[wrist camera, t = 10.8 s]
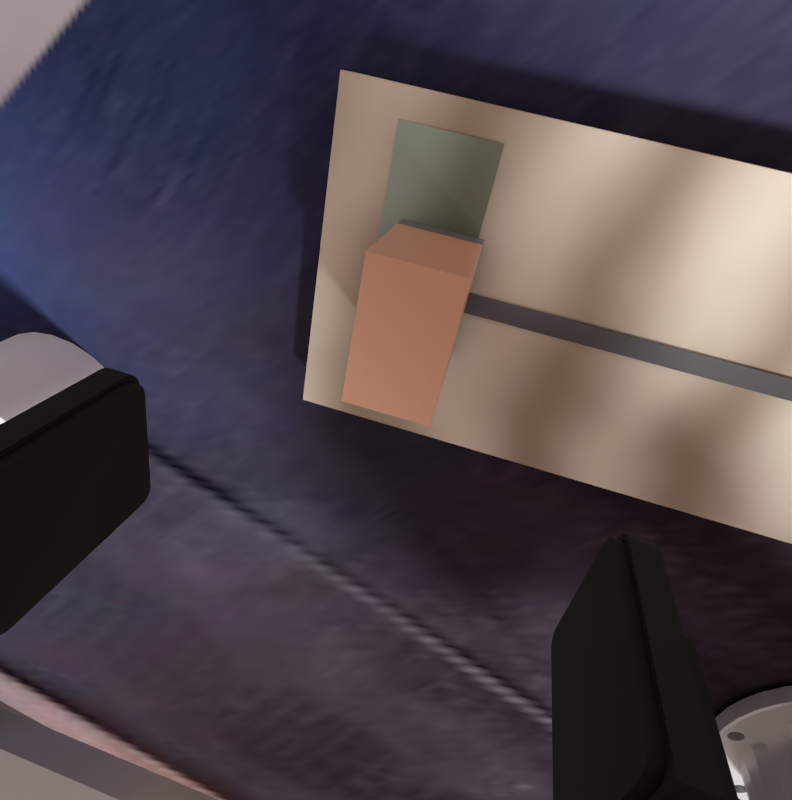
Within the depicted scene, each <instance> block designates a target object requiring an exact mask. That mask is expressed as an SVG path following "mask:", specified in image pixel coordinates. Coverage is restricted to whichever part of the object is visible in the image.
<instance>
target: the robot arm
mask: <svg viewBox="0 0 792 800" xmlns="http://www.w3.org/2000/svg"><path fill="white" fill-rule="evenodd" d="M149 491H150V471H149V455H148V439H147V423H146V407H145V392H144V389H143V387H142V386H140V385H139V381H138V379H137V378H136V377H134V376H133V375H130V374H126V373H123V372H120V371H117V370H114V369H111V368H103V369H100V370H98V371H97V372H95V373H93V374H91V375H89V376H87V377H86V378H84V379H82V380H80V381H78V382H77V383H75V384H73V385H71V386H69V387H67V388H66V389H64V390H62V391H60V392H58V393H57V394H55V395H53V396H51V397H49V398H48V399H46V400H44V401H42V402H40V403H38V404H37V405H35V406H33V407H31V408H29V409H28V410H26V411H24V412H22V413H20V414H18V415H17V416H15V417H13V418H11V419H9V420H8V421H6V422H4V423H2V424H0V635H1V634H3V633H5V632H6V631H8V630H9V629H10V628H11V627H12V626H14V625H15V624H16V623H17V622H18V621H19V620H20V619H21V618H22V617H23V616H24V615H25V614H26V613H27V612H28V611H29V610H30V609H32V608H33V607H34V606H35V605H36V604H37V603H38V602H39V601H40V600H41V599H42V598H43V597H44V596H45V595H46V594H47V593H48V592H50V591H51V590H52V589H53V588H54V587H55V586H56V585H57V584H58V583H59V582H60V581H61V580H62V579H63V578H64V577H65V576H67V575H68V574H69V573H70V572H71V571H72V570H73V569H74V568H75V567H76V566H77V565H78V564H79V563H80V562H81V561H82V560H83V559H85V558H86V557H87V556H88V555H89V554H90V553H91V552H92V551H93V550H94V549H95V548H96V547H97V546H98V545H99V544H100V543H102V542H103V541H104V540H105V539H106V538H107V537H108V536H109V535H110V534H111V533H112V532H113V531H114V530H115V529H116V528H117V527H118V526H120V525H121V524H122V523H123V522H124V521H125V520H126V519H127V518H128V517H129V516H130V515H131V514H132V513H133V512H134V511H135V510H136V509H138V508H139V507H140V506H141V505H142V504H143V503H144V501H145V500H146V498H147V497H148V494H149ZM551 660H552V738H553V800H739V799H741V800H792V686H784V687H780V688H775V689H771V690H767V691H762V692H760V693H757V694H754V695H752V696H749V697H746V698H743V699H741V700H740V701H738V702H736V703H734V704H732V705H731V706H729V707H727V708H726V709H725V710H724V711H723V712H721V713H720V714H719V715H718V716H717V717H716V718H715V716H714V712H713V709H712V705H711V702H710V698H709V695H708V691H707V688H706V684H705V681H704V677H703V674H702V670H701V667H700V663H699V660H698V657H697V653H696V650H695V647H694V645H693V642H692V640H691V639H690V637H689V636H688V635H687V634H686V633H683V632H682V630H681V626H680V622H679V619H678V615H677V611H676V608H675V604H674V600H673V597H672V593H671V589H670V586H669V582H668V578H667V574H666V571H665V567H664V563H663V560H662V556H661V552H660V549H659V547H658V546H657V545H656V544H655V543H651V542H648V541H645V540H642V539H639V538H636V537H633V536H630V535H627V534H622V535H621V536H619V537H618V539H617V540H616V539H613V538H609V539H607V541H606V542H605V543H604V545H603V547H602V549H601V550H600V552H599V554H598V556H597V557H596V559H595V561H594V563H593V564H592V566H591V568H590V570H589V571H588V573H587V575H586V577H585V578H584V580H583V582H582V584H581V585H580V587H579V589H578V591H577V592H576V594H575V596H574V598H573V599H572V601H571V603H570V605H569V606H568V608H567V610H566V611H565V613H564V615H563V617H562V618H561V620H560V622H559V624H558V625H557V627H556V629H555V632H554V635H553V639H552V647H551ZM738 798H739V799H738ZM0 800H218V799H215V798H213V797H211V796H208V795H206V794H204V793H201V792H199V791H197V790H194V789H192V788H189V787H187V786H185V785H182V784H180V783H178V782H175V781H173V780H171V779H168V778H166V777H163V776H161V775H159V774H156V773H154V772H152V771H149V770H147V769H144V768H142V767H140V766H137V765H135V764H133V763H130V762H128V761H125V760H123V759H121V758H118V757H116V756H114V755H111V754H109V753H107V752H104V751H102V750H99V749H97V748H95V747H92V746H90V745H88V744H85V743H83V742H80V741H78V740H76V739H73V738H71V737H69V736H66V735H64V734H61V733H59V732H57V731H54V730H52V729H49V728H47V727H45V726H42V725H40V724H37V723H35V722H33V721H30V720H28V719H25V718H23V717H21V716H18V715H16V714H13V713H11V712H8V711H6V710H3V709H1V708H0Z"/></svg>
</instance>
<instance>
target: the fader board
mask: <svg viewBox="0 0 792 800" xmlns="http://www.w3.org/2000/svg"><path fill="white" fill-rule="evenodd" d="M401 219H405V220H409V221H413V222H417V223H421V224H425V225H429V226H433V227H437V228H441V229H444V230H448V231H452V232H456V233H460V234H464V235H468V236H472V237H476V238H480V239H484V243H483V246H482V250H481V253H480V257H479V260H478V264H477V267H476V271H475V275H474V278H473V282H472V285H471V289H470V292H469V296H468V299H467V303H466V306H465V310H464V313H463V317H462V321H461V324H460V328H459V331H458V335H457V338H456V342H455V345H454V349H453V352H452V356H451V360H450V363H449V366H448V370H447V373H446V376H445V379H444V382H443V385H442V389H441V392H440V395H439V398H438V401H437V404H436V408H435V411H434V414H433V417H432V420H431V423H430V427H429V426H425V425H422V424H419V423H415V422H412V421H408V420H405V419H402V418H398V417H395V416H391V415H388V414H385V413H381V412H378V411H374V410H371V409H367V408H364V407H361V406H357V405H354V404H350V403H347V402H344V401H341V400H342V394H343V388H344V382H345V376H346V369H347V363H348V357H349V351H350V345H351V339H352V332H353V326H354V320H355V314H356V308H357V301H358V295H359V289H360V283H361V277H362V271H363V264H364V258H365V252H366V250H368V249H369V248H370V247H371V246H372V245H373V244H374V243H375V242H377V241H378V240H379V239H380V238H381V237H382V236H383V235H385V234H386V233H387V232H388V231H389V230H390V229H391V228H392V227H394V226H395V225H396V224H397V223H398V222H399V221H400V220H401ZM303 400H306V401H309V402H312V403H316V404H319V405H323V406H326V407H329V408H333V409H336V410H340V411H343V412H346V413H350V414H353V415H357V416H360V417H363V418H367V419H370V420H373V421H377V422H380V423H384V424H387V425H390V426H394V427H397V428H401V429H404V430H407V431H411V432H414V433H418V434H421V435H424V436H428V437H431V438H435V439H438V440H441V441H445V442H448V443H451V444H455V445H458V446H462V447H465V448H468V449H472V450H475V451H479V452H482V453H485V454H489V455H492V456H496V457H499V458H502V459H506V460H509V461H512V462H516V463H519V464H523V465H526V466H529V467H533V468H536V469H540V470H543V471H546V472H550V473H553V474H557V475H560V476H563V477H567V478H570V479H574V480H577V481H580V482H584V483H587V484H590V485H594V486H597V487H601V488H604V489H607V490H611V491H614V492H618V493H621V494H624V495H628V496H631V497H635V498H638V499H641V500H645V501H648V502H652V503H655V504H658V505H662V506H665V507H668V508H672V509H675V510H679V511H682V512H685V513H689V514H692V515H696V516H699V517H702V518H706V519H709V520H713V521H716V522H719V523H723V524H726V525H730V526H733V527H736V528H740V529H743V530H746V531H750V532H753V533H757V534H760V535H763V536H767V537H770V538H774V539H777V540H780V541H784V542H787V543H791V544H792V173H790V172H786V171H782V170H777V169H773V168H769V167H764V166H760V165H756V164H751V163H747V162H743V161H738V160H734V159H730V158H725V157H721V156H717V155H712V154H708V153H704V152H699V151H695V150H691V149H686V148H682V147H678V146H673V145H669V144H665V143H660V142H656V141H652V140H647V139H643V138H639V137H634V136H630V135H626V134H621V133H617V132H612V131H608V130H604V129H599V128H595V127H591V126H586V125H582V124H578V123H573V122H569V121H565V120H560V119H556V118H552V117H547V116H543V115H539V114H534V113H530V112H526V111H521V110H517V109H513V108H508V107H504V106H500V105H495V104H491V103H487V102H482V101H478V100H474V99H469V98H465V97H461V96H456V95H452V94H448V93H443V92H439V91H434V90H430V89H426V88H421V87H417V86H413V85H408V84H404V83H400V82H395V81H391V80H387V79H382V78H378V77H374V76H369V75H365V74H361V73H356V72H351V71H345V70H340V78H339V87H338V95H337V104H336V113H335V122H334V130H333V139H332V148H331V157H330V166H329V174H328V183H327V192H326V201H325V209H324V218H323V227H322V236H321V244H320V253H319V262H318V271H317V280H316V288H315V297H314V306H313V315H312V323H311V332H310V341H309V350H308V358H307V367H306V376H305V385H304V394H303Z"/></svg>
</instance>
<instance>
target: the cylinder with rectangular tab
mask: <svg viewBox="0 0 792 800" xmlns="http://www.w3.org/2000/svg"><path fill="white" fill-rule="evenodd" d="M103 368H104V367H103V366H102V365H101V364H100V363H99V362H97V361H96V360H95V359H94V358H93V357H92V356H91V355H89V354H88V353H86V352H85V351H83V350H82V349H80V348H79V347H77V346H76V345H74V344H73V343H71V342H68V341H66V340H63V339H61V338H59V337H56V336H54V335H49V334H43V333H37V332H30V333H22V334H17V335H15V336H12V337H10V338H8V339H6V340H3V341H1V342H0V424H2V423H4V422H6V421H8V420H9V419H11V418H13V417H15V416H17V415H18V414H20V413H22V412H24V411H26V410H28V409H29V408H31V407H33V406H35V405H37V404H38V403H40V402H42V401H44V400H46V399H48V398H49V397H51V396H53V395H55V394H57V393H58V392H60V391H62V390H64V389H66V388H67V387H69V386H71V385H73V384H75V383H77V382H78V381H80V380H82V379H84V378H86V377H87V376H89V375H91V374H93V373H95V372H97V371H98V370H100V369H103Z"/></svg>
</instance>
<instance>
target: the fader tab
mask: <svg viewBox="0 0 792 800" xmlns="http://www.w3.org/2000/svg"><path fill="white" fill-rule="evenodd" d="M483 243H484V239H480V238H476V237H472V236H468V235H464V234H460V233H456V232H452V231H448V230H444V229H441V228H437V227H433V226H429V225H425V224H421V223H417V222H413V221H409V220H405V219H401V220H400V221H399V222H398V223H397V224H396V225H395V226H394V227H392V228H391V229H390V230H389V231H388V232H387V233H386V234H385V235H383V236H382V237H381V238H380V239H379V240H378V241H377V242H375V243H374V244H373V245H372V246H371V247H370V248H369V249H368V250H366V252H365V258H364V264H363V271H362V277H361V283H360V289H359V295H358V301H357V308H356V314H355V320H354V326H353V332H352V339H351V345H350V351H349V357H348V363H347V369H346V376H345V382H344V388H343V394H342V400H341V401H344V402H347V403H350V404H354V405H357V406H361V407H364V408H367V409H371V410H374V411H378V412H381V413H385V414H388V415H391V416H395V417H398V418H402V419H405V420H408V421H412V422H415V423H419V424H422V425H425V426H429V427H430V423H431V420H432V417H433V414H434V411H435V408H436V404H437V401H438V398H439V395H440V392H441V389H442V385H443V382H444V379H445V376H446V373H447V370H448V366H449V363H450V360H451V356H452V352H453V349H454V345H455V342H456V338H457V335H458V331H459V328H460V324H461V321H462V317H463V313H464V310H465V306H466V303H467V299H468V296H469V292H470V289H471V285H472V282H473V278H474V275H475V271H476V267H477V264H478V260H479V257H480V253H481V250H482V246H483Z"/></svg>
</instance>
